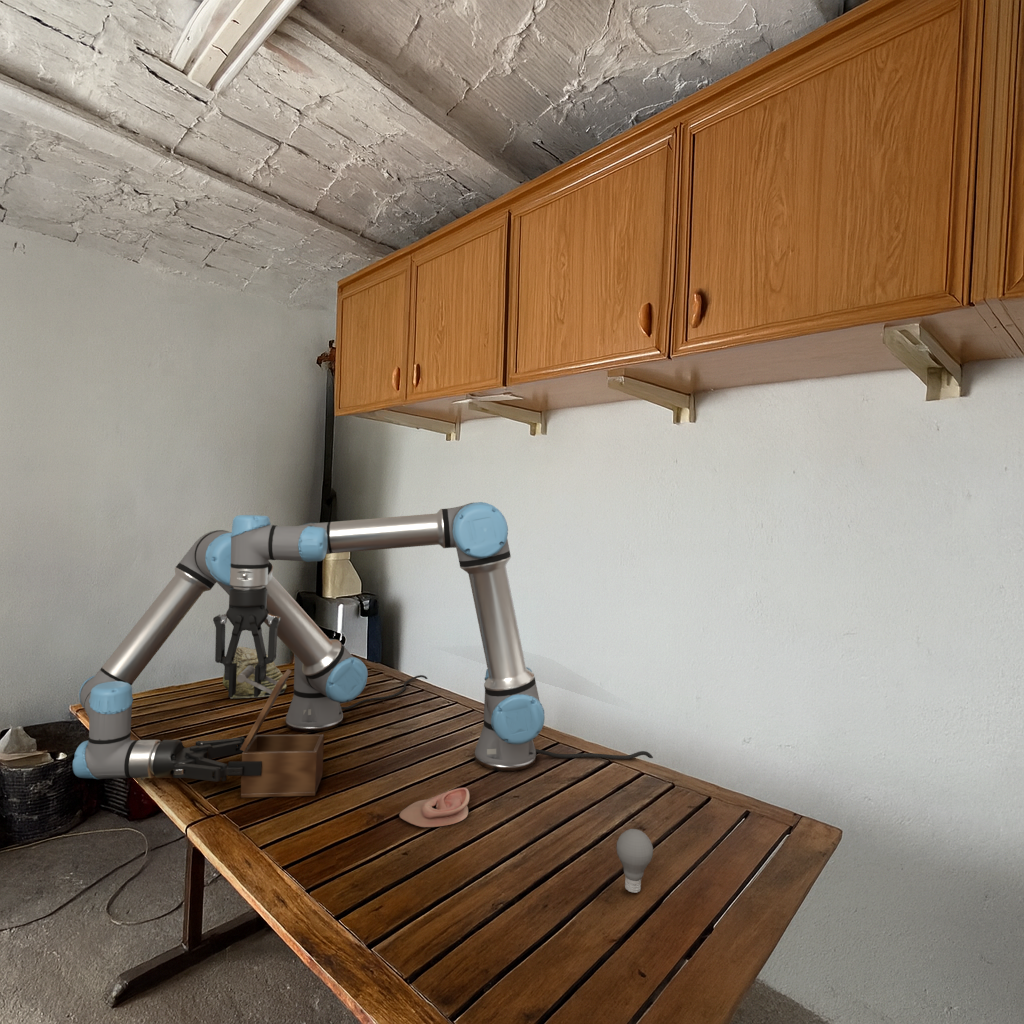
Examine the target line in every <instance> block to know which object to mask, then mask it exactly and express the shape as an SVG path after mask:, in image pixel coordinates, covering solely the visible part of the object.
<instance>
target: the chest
mask: <svg viewBox="0 0 1024 1024" xmlns="http://www.w3.org/2000/svg"><path fill="white" fill-rule="evenodd" d="M324 743H325V734H324V733H312V734H311V733H309V734H305V733H303V734H300V733H299V734H256V736H255V737H254V738H253V740H252V741H251V743H250V744H249V746H248V747H247V748H246V750H245V751H243V753H241V761H262V774H261V776H240V799H241V798H244V799H246V798H279V797H282V798H283V797H312V796H313V797H315V796H316V794H317V792H318V788H319V785H320V783H321V781H322V778H323V774H324Z"/></svg>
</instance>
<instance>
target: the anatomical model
mask: <svg viewBox="0 0 1024 1024" xmlns="http://www.w3.org/2000/svg"><path fill="white" fill-rule="evenodd" d="M470 797H471V796H470V791H469V789H468V788H467V787H458V788H453V789H451V790H447V791H445V792H442V793H440V794H437V795H436V796H433V797H430V798H428V799H421V800H417V801H415V802H413V803H411V804H409V805H407V807H405V808H404V809H402V810H401V811H400V812H399V814H398V816H399V818H400V819H402V820H403V821H404V822H407V823H408V824H410V825H414V826H416V827H420V828H437V827H446V826H450V825H454V824H457V823H460V822H462V821H463V820H465V819H466V818H467V817H468V816H469V807H468V805H469V802H470Z"/></svg>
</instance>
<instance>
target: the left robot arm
mask: <svg viewBox="0 0 1024 1024" xmlns="http://www.w3.org/2000/svg"><path fill="white" fill-rule="evenodd" d="M231 535H232V531H230V530H229V531H228V530H225V529H224V530H223V529H217V530H212V531H208V532H207V533H205V534H203V535H202V536H200V537H199V538H198V539H197V540H196V541H194V543H193V544H192V545H191V546H190V548H189V549H188V550H187V552H186V553H185V554H184V556H183V557H182V558H181V560H180V561H179V562H178V564H177V565H176V566H175V567H174V573H175V574H174V576H173V577H171V579H170V581H168V583H167V584H166V585H165V587H164V588H163V589H162V591H161V592H160V593H159V594H158V596H157V597H156V598H155V600H154V601H153V602H152V603H151V604H150V606H149V607H148V608H147V610H146V611H145V612H144V613H143V614H142V616H141V617H140V618H139V620H138V621H137V622H136V623H135V625H134V626H133V627H132V629H131V630H130V631H129V633H128V634H127V635H126V636H125V637H124V639H122V641H121V643H119V645H118V646H117V647H116V648H115V650H114V651H113V653H112V654H110V656H109V658H108V659H107V660H106V661H105V662H104V664H103V665H102V666H101V668H100V669H99V670H98V671H97V672H96V673H95V675H92V676H90V677H88V678H87V679H86V680H85V681H83V683H82V684H81V685H80V687H79V691H78V699H79V703H80V705H81V707H82V708H83V709H84V712H85V713H86V715H87V717H88V740H84V741H82V742H81V743H80V744H79V745H78V746H77V748H76V750H75V752H74V756H73V757H74V758H73V760H72V772H73V774H74V775H75V776H76V777H77V778H79V779H91V780H93V779H94V780H109V779H110V780H111V779H140V780H141V781H143V780H145V779H152V778H156V779H172V778H173V779H192V780H199V781H200V780H201V781H208V782H216V783H217V782H225V781H227V776H228V777H241V776H261V774H262V761H242V760H239V761H237V760H235V761H231V760H230V761H228V763H226V762H222V761H217V760H215V759H218V758H223V757H228V756H233V755H237V754H242V753H243V751H242V750H240V748H241V747H242V745H243V743H244V741H245V739H246V738H245V736H241V737H233V738H231V737H230V738H221V739H212V740H197V741H195V745H191V746H189V747H185V746H184V743H183V742H182V740H180V739H163V740H162V741H161V740H160V739H135V740H134V739H131V734H132V731H131V730H132V713H133V702H134V697H133V686H132V685H133V684H134V683H135V681H136V680H137V679H138V677H139V676H140V675H141V673H142V672H143V671H144V670H145V668H146V666H148V664H149V663H150V662H151V660H152V659H153V658H154V657H155V656H156V654H157V653H158V652H159V650H160V649H161V648H162V647H163V645H164V643H166V641H167V640H168V639H169V638H170V636H171V635H172V633H173V632H174V631H175V630H176V628H177V627H178V626H179V624H180V623H181V622H182V620H183V619H184V618H185V617H186V615H187V614H188V613H189V611H191V609H192V607H194V605H195V604H196V602H198V600H199V598H200V597H201V596H202V595H203V594H204V593H205V592H208V591H211V590H212V588H214V586H215V585H216V584H218V585H219V586H220V588H221V589H222V590H224V592H225V593H226V594H227V595H228V596H229V590H230V589H231V588H232V587H233V586H231V585H230V567H231ZM273 571H274V565H273V564H272V563H271V562H270V560H268V584H267V585H266V586H265V587H266V589H267V610H268V611H269V614H271V615H274V616H280V617H281V620H280V622H279V624H278V628H277V638H278V639H279V640H280V641H281V642H282V643H283V644H284V645H285V646H286V647H287V648H288V649H289V650H290V651H291V652H292V654H293V656H294V672H293V695H292V696H293V697H292V699H291V702H290V704H289V708H288V711H287V713H286V715H285V726H286V728H287V729H289V730H291V731H294V732H295V731H296V732H301V733H316V732H325V731H329V730H332V729H335V728H337V727H339V726H340V725H342V723H343V722H344V714H343V710H349V709H352V708H354V707H357V706H358V705H360V704H364V703H366V702H371V701H379V700H385V699H390V698H394V697H396V696H398V695H401V694H402V693H403V692H404V691H406V689H407V684H408V683H410V682H412V681H414V680H415V679H419V678H423V679H425V680H428V677H427V676H426V675H423V674H418V675H415V676H414V677H411V678H409V679H407V680H406V681H404V683H403V688H402V689H401V690H399V691H398V692H396V693H393V694H390V695H386V696H378V697H377V696H376V697H370V698H365V699H362V700H359V701H357V702H355V703H353V704H351V705H348V706H341V704H344V703H350V702H352V701H354V700H355V699H357V697H359V696H360V695H361V693H362V692H363V691H364V689H365V687H366V685H367V682H368V676H369V673H368V668H367V666H366V664H365V662H363V661H362V659H360V658H359V657H355V656H354V655H353V654H351V652H350V651H349V650H348V649H347V647H345V646H344V645H343V644H342V642H341V641H340V640H339V639H336V638H329V636H327V635H326V633H324V631H323V630H322V629H321V628H320V627H319V626H318V625H317V624H316V622H315V621H314V620H313V619H312V618H311V617H310V616H309V615H308V614H307V612H306V611H305V610H304V608H302V606H300V604H299V603H298V602H297V601H296V600H295V598H294V597H293V596H292V595H291V594H290V593H289V592H288V591H287V589H285V587H283V585H282V584H281V583H280V582H279V581H278V579H276V577H275V576H274V575H273V573H274V572H273ZM263 623H264V624H265V625H266V626H267V627H268V629H269V628H270V625H269V624H268V620H267V619H266V620H265V621H264V622H263Z"/></svg>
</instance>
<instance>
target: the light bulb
mask: <svg viewBox="0 0 1024 1024" xmlns="http://www.w3.org/2000/svg"><path fill="white" fill-rule="evenodd" d="M615 849H616V854H617V857H618V859H619V861H620V863H621V865H622V867H623V873H624V874H623V875H624V876H625V878H624V888H625V890H627V891H628V892H630V893H634V894H635V893H639V892H640V891H641V889H642V887H641V886H642V879H643V877H644V875H645V871H646V868H647V867H648V866H649V864H650V863H651V861H652V859H653V855H654V847H653V843H652V841H651V838H649V836H648V835H647V834H646V833H645V832H643V831H642V830H641V829H636V828H629V829H627V830H625V831H623V832H622V833H621V834H620V835H619V837H618V839H617V841H616V847H615Z"/></svg>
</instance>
